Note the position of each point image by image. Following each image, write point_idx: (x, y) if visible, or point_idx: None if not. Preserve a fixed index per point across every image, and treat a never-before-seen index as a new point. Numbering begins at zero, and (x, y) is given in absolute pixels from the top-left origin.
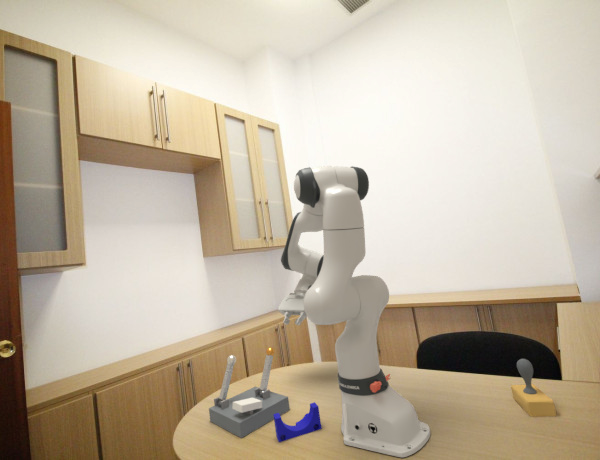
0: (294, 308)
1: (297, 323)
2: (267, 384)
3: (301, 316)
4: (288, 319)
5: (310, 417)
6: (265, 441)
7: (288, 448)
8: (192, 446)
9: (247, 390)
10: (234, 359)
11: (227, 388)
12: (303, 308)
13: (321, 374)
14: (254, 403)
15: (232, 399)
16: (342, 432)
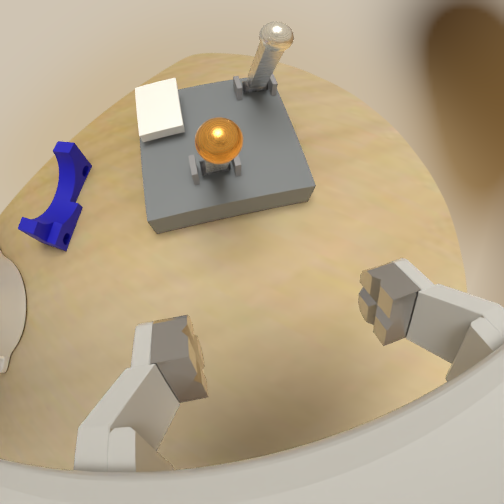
0: (366, 463)
1: (140, 325)
2: (206, 170)
3: (104, 406)
4: (418, 337)
5: (41, 219)
6: (98, 147)
7: (52, 170)
8: (198, 64)
9: (303, 159)
10: (260, 37)
11: (252, 75)
12: (46, 500)
13: (309, 439)
14: (137, 116)
15: (274, 115)
16: (8, 259)
